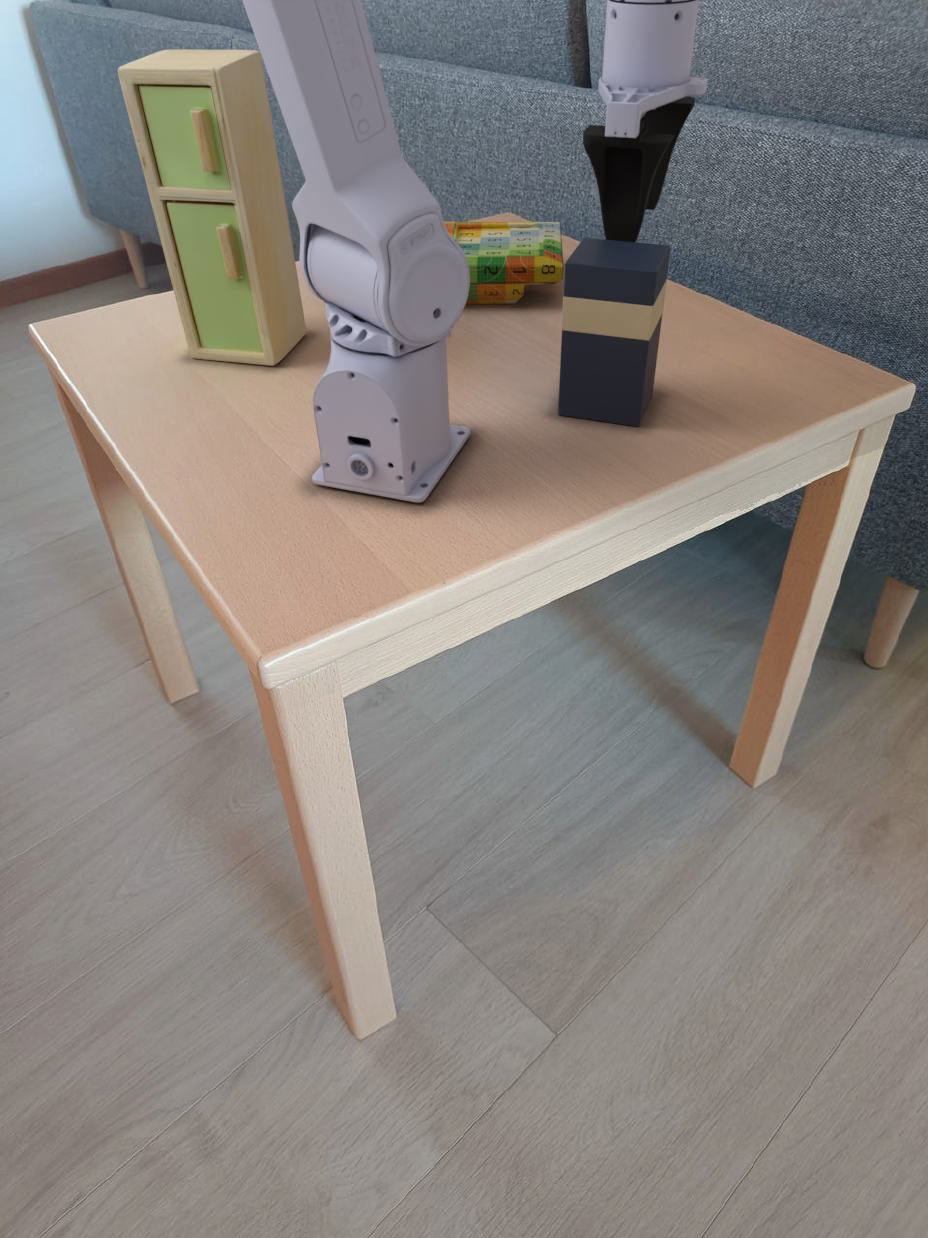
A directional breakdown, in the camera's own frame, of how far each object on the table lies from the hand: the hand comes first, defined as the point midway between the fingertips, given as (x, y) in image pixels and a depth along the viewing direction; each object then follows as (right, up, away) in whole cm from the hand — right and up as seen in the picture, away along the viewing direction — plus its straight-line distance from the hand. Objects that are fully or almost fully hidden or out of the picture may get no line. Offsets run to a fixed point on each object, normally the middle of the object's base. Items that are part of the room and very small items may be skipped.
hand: (631, 223), depth 65 cm
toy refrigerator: (-31, -6, +10) cm, 33 cm away
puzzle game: (-13, +3, +20) cm, 24 cm away
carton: (-2, -13, +1) cm, 13 cm away
